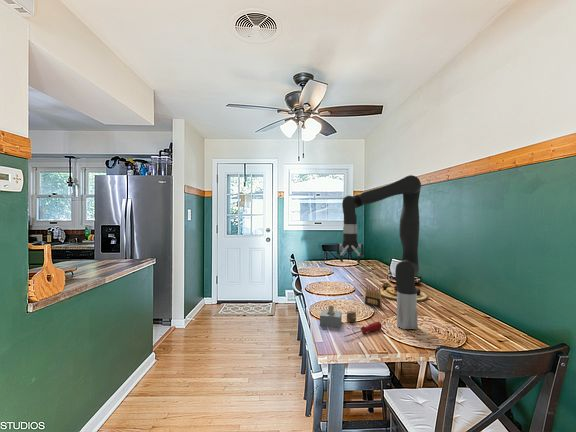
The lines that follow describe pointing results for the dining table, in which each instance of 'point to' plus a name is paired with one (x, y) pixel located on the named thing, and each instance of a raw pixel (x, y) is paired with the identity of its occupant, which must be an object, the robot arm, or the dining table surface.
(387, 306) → the dining table surface
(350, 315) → the walnut stub
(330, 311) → the birch dowel
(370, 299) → the ammunition clip
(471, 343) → the dining table surface
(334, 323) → the block
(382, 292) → the wooden plate with food
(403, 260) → the robot arm
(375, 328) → the screwdriver
